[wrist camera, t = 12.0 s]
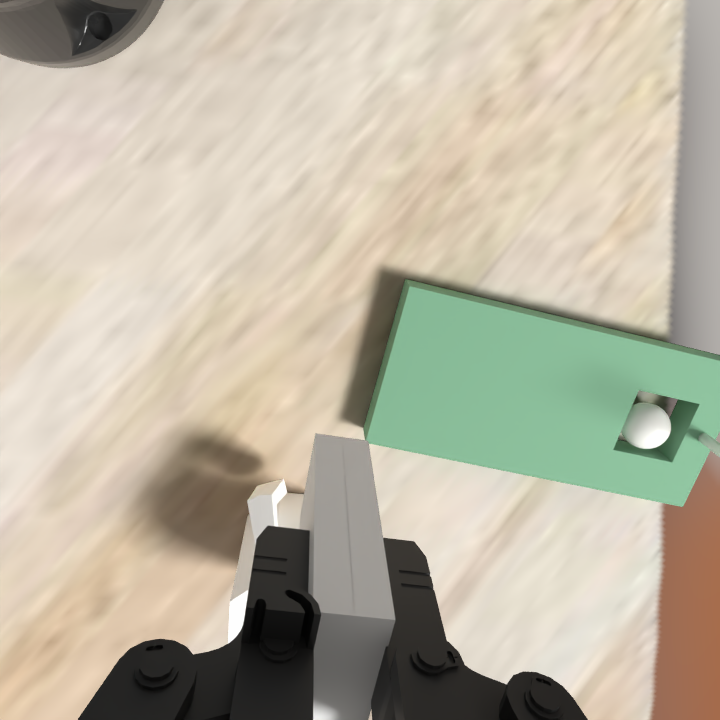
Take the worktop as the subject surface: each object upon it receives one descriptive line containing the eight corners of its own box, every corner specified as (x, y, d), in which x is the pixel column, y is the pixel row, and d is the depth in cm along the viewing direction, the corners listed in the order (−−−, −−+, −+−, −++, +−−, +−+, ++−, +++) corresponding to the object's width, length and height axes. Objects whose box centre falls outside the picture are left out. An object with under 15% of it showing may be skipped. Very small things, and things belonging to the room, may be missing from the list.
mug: (359, 561, 51) (367, 654, 41) (261, 588, 51) (247, 685, 42) (317, 438, 47) (315, 510, 37) (211, 468, 47) (183, 547, 38)
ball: (677, 407, 46) (630, 391, 47) (680, 419, 43) (630, 401, 44) (659, 447, 47) (613, 430, 48) (661, 462, 44) (612, 443, 45)
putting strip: (405, 279, 43) (443, 339, 29) (729, 357, 46) (898, 444, 33) (363, 428, 46) (379, 543, 33) (666, 490, 50) (794, 618, 36)
